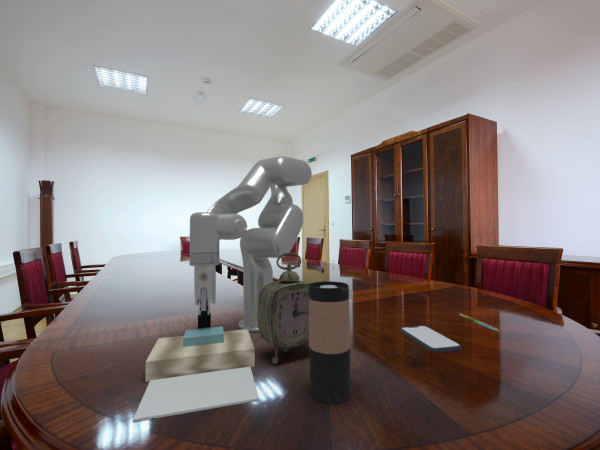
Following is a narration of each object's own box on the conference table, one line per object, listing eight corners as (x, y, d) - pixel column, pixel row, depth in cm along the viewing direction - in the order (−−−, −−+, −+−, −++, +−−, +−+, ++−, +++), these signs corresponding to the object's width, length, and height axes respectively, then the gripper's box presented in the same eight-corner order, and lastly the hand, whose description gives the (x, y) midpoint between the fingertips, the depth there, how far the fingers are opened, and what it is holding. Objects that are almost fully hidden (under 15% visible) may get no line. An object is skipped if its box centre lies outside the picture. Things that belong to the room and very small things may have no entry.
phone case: (464, 352, 73) (425, 330, 89) (464, 346, 73) (425, 325, 89) (432, 355, 71) (398, 332, 87) (432, 349, 71) (398, 327, 87)
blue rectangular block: (223, 334, 75) (223, 326, 75) (223, 342, 69) (223, 333, 69) (185, 338, 72) (185, 329, 72) (183, 347, 66) (183, 338, 66)
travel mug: (307, 383, 57) (306, 281, 58) (345, 381, 58) (343, 280, 59) (312, 406, 50) (310, 288, 50) (356, 403, 50) (354, 287, 51)
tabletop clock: (271, 369, 64) (270, 254, 64) (254, 355, 71) (253, 252, 72) (324, 354, 71) (322, 252, 72) (304, 342, 79) (303, 250, 80)
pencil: (502, 333, 85) (462, 316, 103) (502, 330, 85) (462, 313, 103) (498, 334, 85) (458, 316, 103) (498, 330, 85) (458, 313, 103)
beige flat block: (247, 344, 78) (247, 329, 78) (254, 366, 65) (254, 348, 65) (158, 354, 72) (158, 338, 72) (145, 381, 59) (145, 361, 59)
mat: (250, 368, 64) (250, 366, 64) (258, 400, 52) (258, 398, 52) (150, 382, 59) (150, 380, 59) (132, 422, 46) (132, 419, 46)
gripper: (219, 261, 70) (219, 337, 70) (219, 257, 85) (219, 320, 84) (186, 262, 68) (186, 341, 68) (192, 257, 83) (191, 322, 82)
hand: (204, 329), depth 76 cm, fingers closed
